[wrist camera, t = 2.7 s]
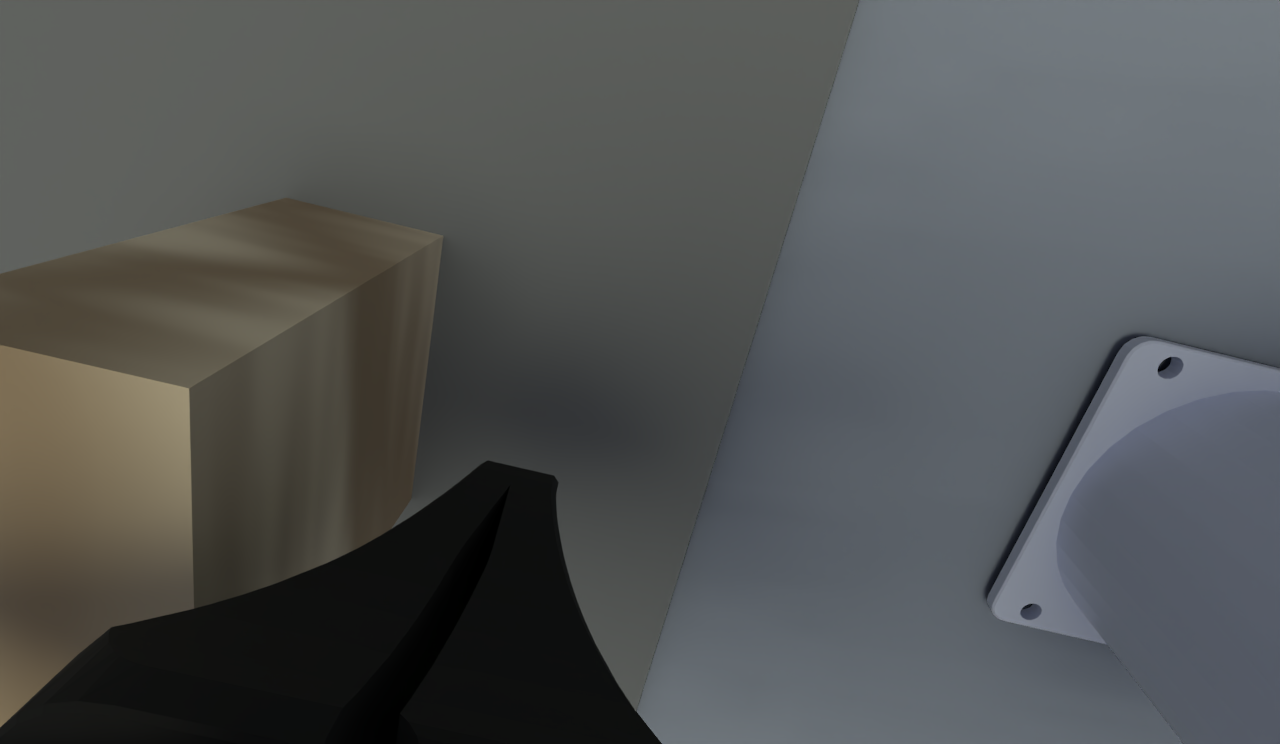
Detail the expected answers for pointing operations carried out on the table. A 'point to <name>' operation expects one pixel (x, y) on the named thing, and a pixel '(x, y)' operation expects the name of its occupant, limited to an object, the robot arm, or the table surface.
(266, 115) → the rubber mat
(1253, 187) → the table surface
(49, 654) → the beech block
